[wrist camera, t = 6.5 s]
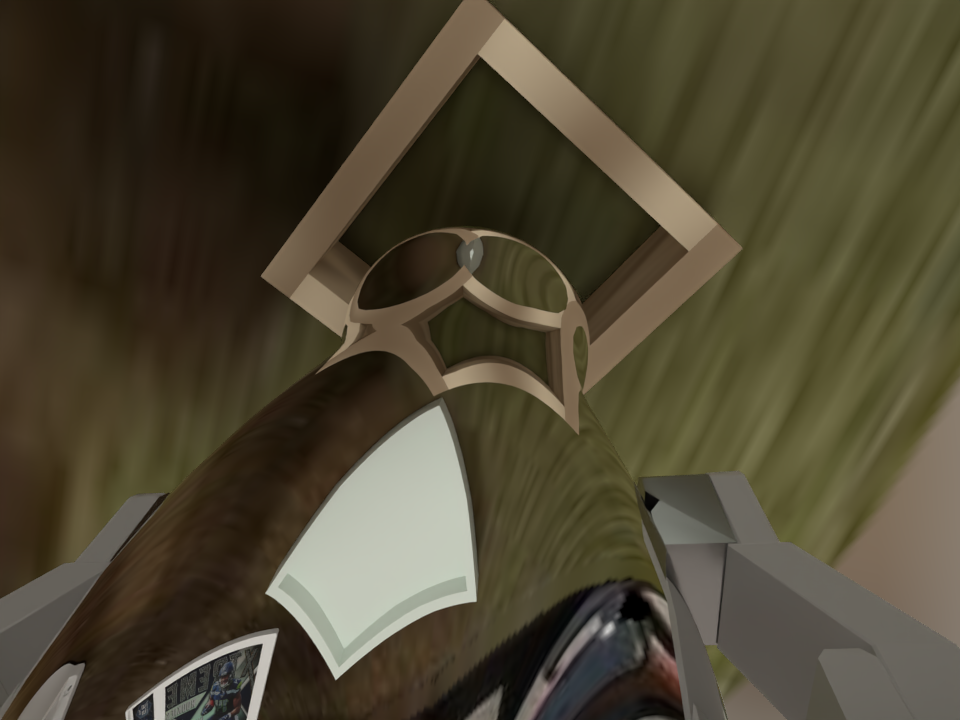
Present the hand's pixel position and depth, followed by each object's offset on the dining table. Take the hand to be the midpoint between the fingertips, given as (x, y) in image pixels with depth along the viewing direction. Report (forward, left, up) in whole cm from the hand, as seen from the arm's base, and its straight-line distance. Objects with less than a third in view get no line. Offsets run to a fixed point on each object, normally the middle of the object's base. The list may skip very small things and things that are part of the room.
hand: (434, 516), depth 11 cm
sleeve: (0, 0, -17) cm, 17 cm away
